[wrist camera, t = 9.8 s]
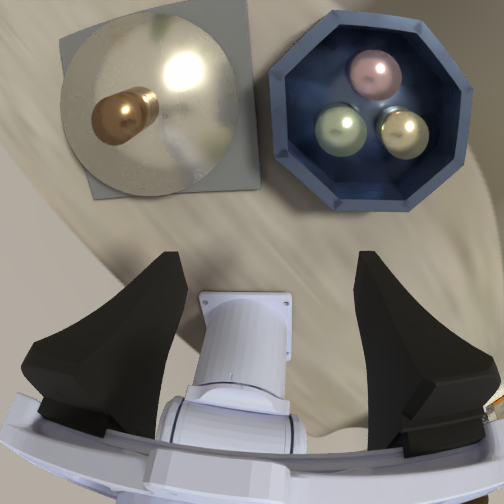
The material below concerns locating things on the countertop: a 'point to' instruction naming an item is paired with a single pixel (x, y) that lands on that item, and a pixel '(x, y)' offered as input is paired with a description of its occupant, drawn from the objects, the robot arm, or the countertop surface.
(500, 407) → the supplement box
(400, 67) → the tin
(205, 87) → the lid
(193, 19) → the coaster
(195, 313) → the countertop surface
